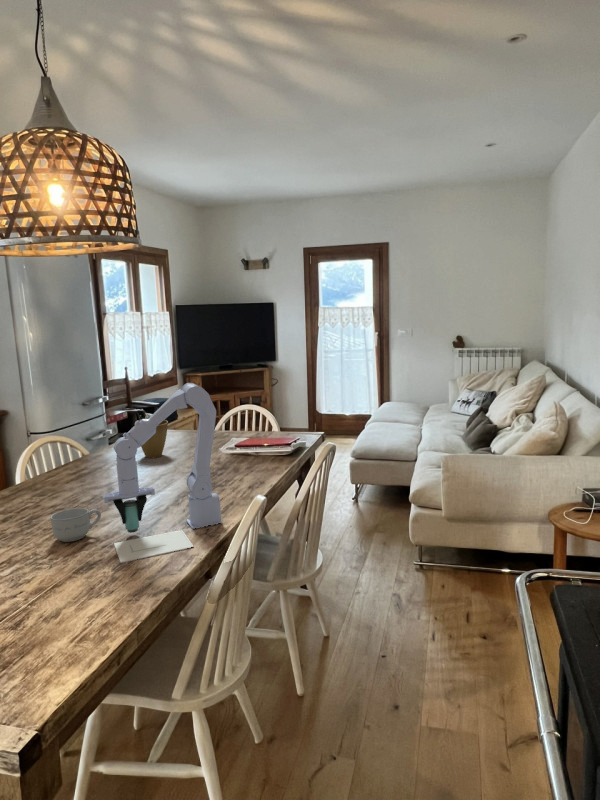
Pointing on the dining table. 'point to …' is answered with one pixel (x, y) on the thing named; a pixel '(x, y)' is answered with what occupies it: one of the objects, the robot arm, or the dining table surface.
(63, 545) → the dining table surface
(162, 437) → the plant pot
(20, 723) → the dining table surface
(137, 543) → the paper pad
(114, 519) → the dining table surface
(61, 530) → the teacup
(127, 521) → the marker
